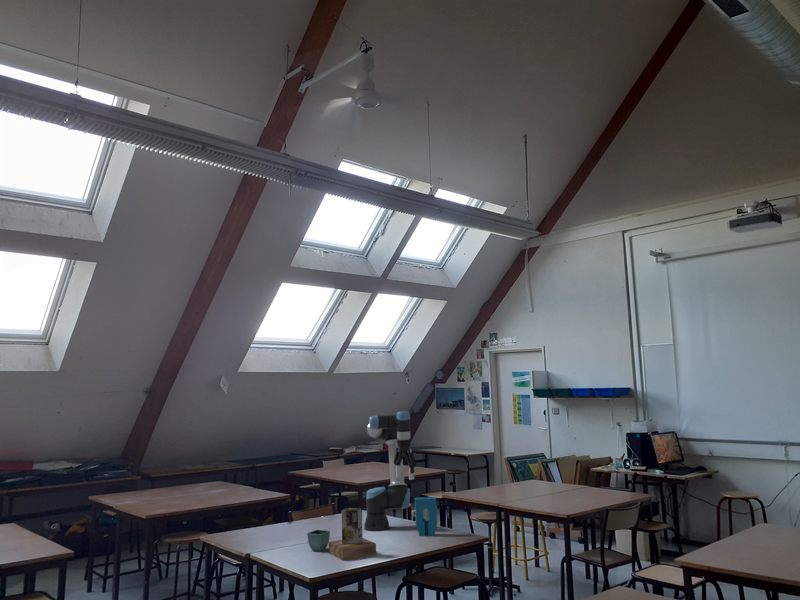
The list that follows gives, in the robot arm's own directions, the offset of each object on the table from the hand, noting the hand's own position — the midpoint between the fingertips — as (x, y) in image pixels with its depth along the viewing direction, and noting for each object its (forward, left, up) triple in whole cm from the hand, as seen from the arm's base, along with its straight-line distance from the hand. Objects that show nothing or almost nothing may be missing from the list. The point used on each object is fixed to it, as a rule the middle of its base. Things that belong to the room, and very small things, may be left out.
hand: (405, 478), depth 329 cm
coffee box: (+9, -38, -27) cm, 47 cm away
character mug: (-16, +20, -33) cm, 42 cm away
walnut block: (+9, -38, -33) cm, 51 cm away
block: (-3, +15, -33) cm, 36 cm away
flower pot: (-10, -48, -33) cm, 59 cm away
